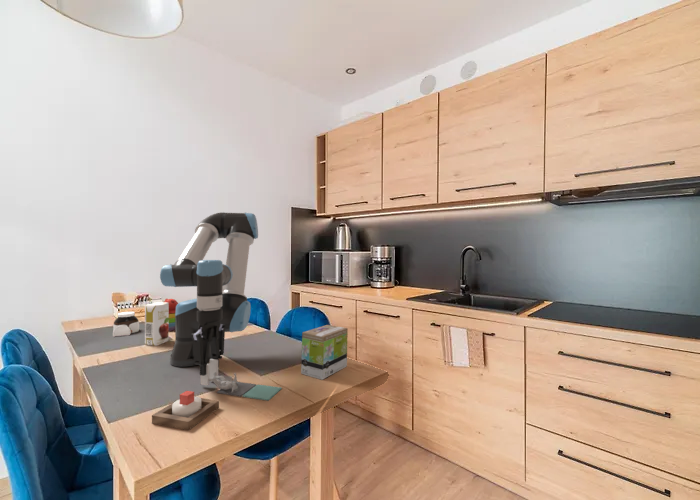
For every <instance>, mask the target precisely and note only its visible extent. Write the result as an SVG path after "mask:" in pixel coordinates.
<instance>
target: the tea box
mask: <svg viewBox="0 0 700 500" xmlns="http://www.w3.org/2000/svg"><path fill="white" fill-rule="evenodd" d="M348 333H349V331H348V328H347V327H343V326H338V325H337V326H336V325H333V324H332V325H331V324H326V325H322V326H319V327H315V328H312V329H309V330H306V331H302V333H301V334H302V335H301V364H300V365H301V366H300V373H301V375H305V376H306V377H311V378H313V379H314V378H315V379H317V380H321V381H322V380H324V379H327V378H328V377H329V376H331V375H333V374H335V373H337V372H339V371H341V370H343V369H345V368H346V367H347V366H348V338H349V337H348V335H349V334H348Z"/></svg>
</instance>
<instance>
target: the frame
mask: <svg viewBox="0 0 700 500" xmlns="http://www.w3.org/2000/svg"><path fill="white" fill-rule="evenodd" d="M200 398H201V409H200V410H199V411H197V412H196V413H194V414H193V415H191V416H190V417H188V418H187V417H181V416H175V415H172V404H173V403H174V402H172V403H171V404H169V405H167V406H166V407H164V408H162V409H161V410H159V411H157V412H155V413H153V414H152V415H151V424H152V425H153V424H155V425H159V426H165V427H169V428H175V429H180V430H186V431H189V430H191V429H192V428H194V427H195V426H196V425H197V424H199V423H200V422H202V421H204V420H205V419H206V418H207V417H209V416H210V415H211V414H213V413H214V412H215V411H217V410H218V409H220V400H217V399H210V398H204V397H200Z"/></svg>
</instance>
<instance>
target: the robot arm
mask: <svg viewBox="0 0 700 500" xmlns="http://www.w3.org/2000/svg"><path fill="white" fill-rule="evenodd" d="M258 238H259V228H258V221H257V216H256V215H255V214H254V213H251V212H217V213H214V214H211V215H209V216H207V217H204V219H202V220H201V221H200V222H199V223H198V224H197V226H196V227H195V228H194V235H193V236H192V237H191V239H190V240H189V242H188V243H187V245H186V247H185V248H184V249H183V251H182V253H181V254H180V256H179V257H178V258H177V260H176V261H175V263H174V264H171V263H170V264H166V265H163V266H162V267H161V269H160V274H159V275H160V276H159V278H160V283H161V285H163V286H164V287H174V288H177V287H178V288H183V287H184V288H185V287H188V288H189V287H196V298H193V299H187V300H182V301H181V302H178V304H177V306H176V313H175V330H174V331H175V334H174V335H175V336H174V337H175V339H174V340H175V341H174V344H173V348H172V351H171V353H170V356H169V364H170V365H171V366H174V367H180V368H182V367H194V366H198V365H199V375H200V385H202V386H210V385H211V384H210V381H209V379H213V377H214V373H215V372H216V376H219V366H220V360H222V359H223V355H224V354H225V335H226V333H235V332H236V333H237V332H243V331H244V330H245V329H246V328H247V327H248V324H249V321H250V316H251V309H252V308H251V307H252V306H251V302H250V301H249V300H248V297H247V296H246V295H245V287H246V278H247V271H248V261H249V255H250V246H252V245H253V244H254V241H255V240H256V239H258ZM218 239H226V241H227V243H228V248H227V255H226V261H225V264H224V263H223V261H222V260H220V259H205V257H206V255H207V253H208V251H209V250H210V248H211V246H212V244H213V243H215V242H216V241H217V240H218ZM217 380H219V379H217Z"/></svg>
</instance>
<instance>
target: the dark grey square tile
mask: <svg viewBox="0 0 700 500" xmlns="http://www.w3.org/2000/svg"><path fill="white" fill-rule="evenodd" d="M231 382H234V380H232V381H231ZM236 383H237V384H238V387H239V389H238V391H234V392H232V389H228V390H224V389H220V388H219V389H218V390H217V391H216V394H221V395H228V396H234V397H240V398H241V397H243V395H244V394H245V393H247V392H248V391H249V390H251V389H252V388H253V387H255V386H256V385H257V384H255V383H252V382H251V383H249V382H242V381H237V382H236Z"/></svg>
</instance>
